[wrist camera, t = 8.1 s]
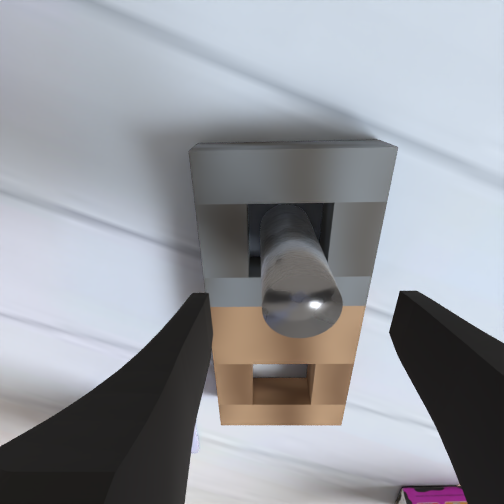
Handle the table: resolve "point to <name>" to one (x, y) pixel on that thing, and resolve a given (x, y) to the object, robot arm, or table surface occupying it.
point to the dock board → (249, 268)
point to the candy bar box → (432, 495)
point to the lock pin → (295, 275)
